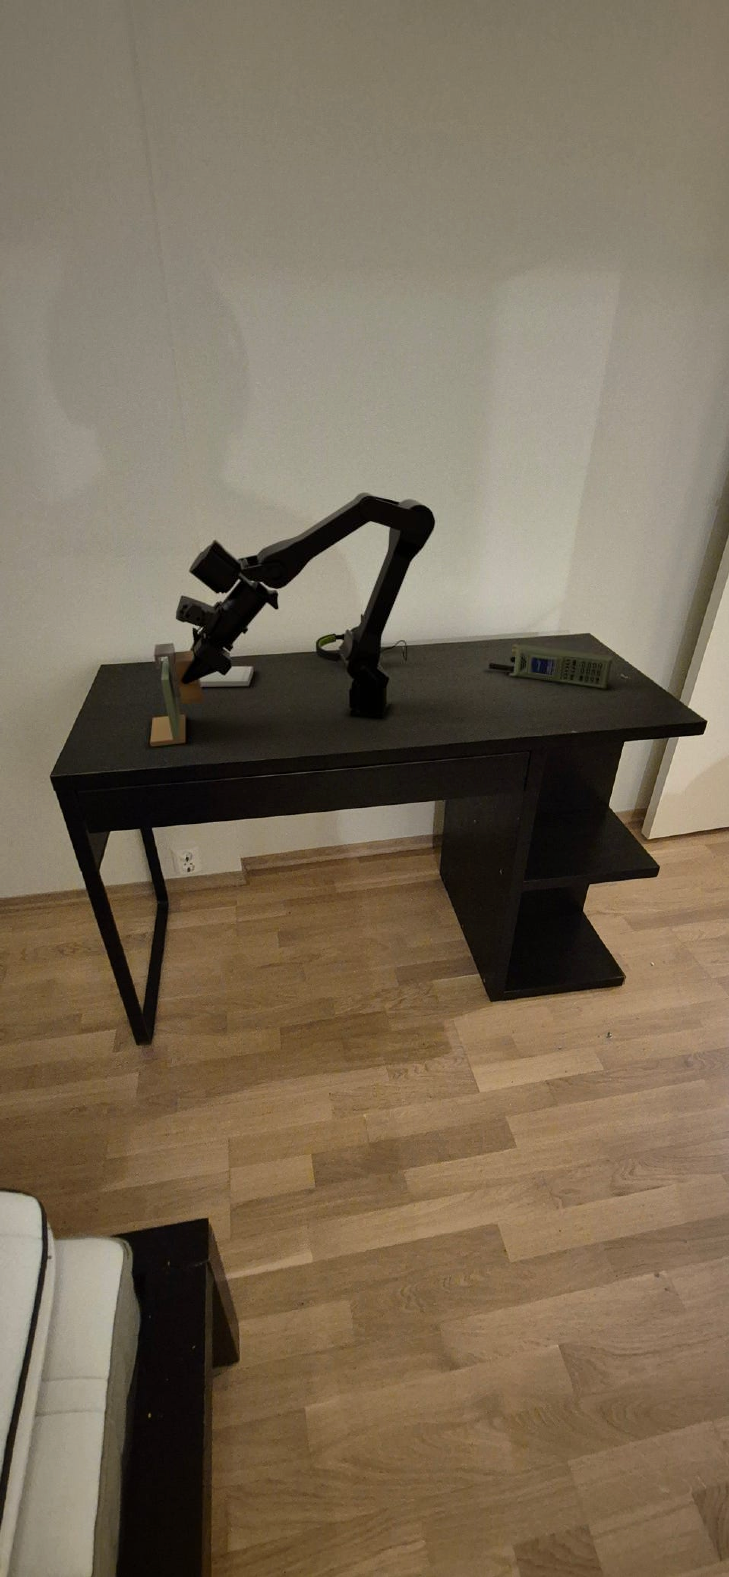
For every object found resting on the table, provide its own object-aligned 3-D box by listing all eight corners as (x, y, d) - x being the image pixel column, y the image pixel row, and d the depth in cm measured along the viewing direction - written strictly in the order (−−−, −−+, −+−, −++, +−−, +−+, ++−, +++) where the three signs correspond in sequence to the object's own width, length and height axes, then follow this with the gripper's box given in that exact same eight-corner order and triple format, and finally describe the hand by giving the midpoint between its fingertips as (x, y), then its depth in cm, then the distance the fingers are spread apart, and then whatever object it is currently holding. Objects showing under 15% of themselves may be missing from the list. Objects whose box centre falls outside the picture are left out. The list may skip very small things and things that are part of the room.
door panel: (185, 719, 127) (174, 657, 121) (185, 743, 119) (173, 678, 112) (153, 722, 126) (141, 660, 120) (151, 746, 118) (137, 682, 111)
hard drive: (188, 680, 139) (247, 679, 139) (196, 666, 146) (252, 665, 146) (190, 688, 140) (248, 687, 140) (198, 673, 147) (253, 672, 147)
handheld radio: (605, 690, 136) (486, 673, 144) (607, 685, 139) (490, 669, 147) (612, 659, 133) (489, 644, 141) (613, 654, 135) (493, 639, 143)
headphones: (408, 629, 141) (315, 633, 139) (407, 671, 146) (317, 675, 145) (399, 607, 154) (313, 610, 153) (398, 646, 159) (315, 649, 158)
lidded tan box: (201, 691, 123) (194, 641, 117) (202, 702, 118) (194, 651, 113) (164, 694, 121) (155, 644, 116) (163, 706, 117) (153, 654, 112)
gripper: (198, 566, 117) (146, 631, 121) (200, 595, 102) (140, 669, 106) (247, 606, 123) (196, 667, 127) (256, 640, 108) (198, 708, 112)
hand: (183, 676), depth 118 cm, fingers closed on lidded tan box, 5 cm apart
